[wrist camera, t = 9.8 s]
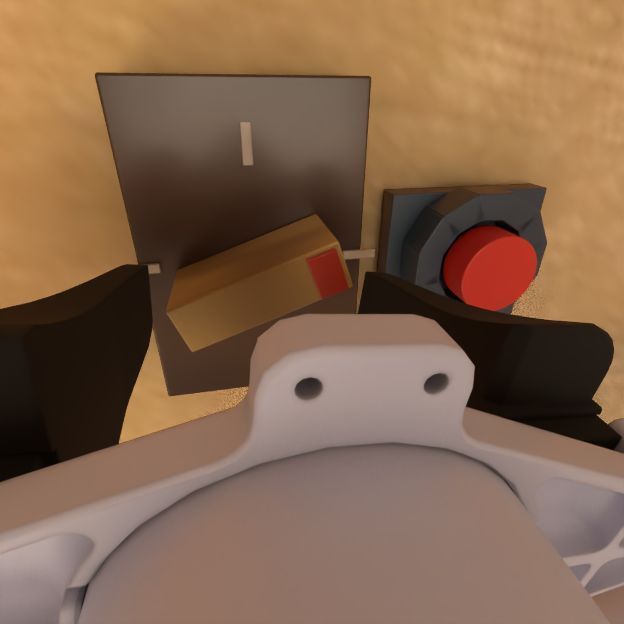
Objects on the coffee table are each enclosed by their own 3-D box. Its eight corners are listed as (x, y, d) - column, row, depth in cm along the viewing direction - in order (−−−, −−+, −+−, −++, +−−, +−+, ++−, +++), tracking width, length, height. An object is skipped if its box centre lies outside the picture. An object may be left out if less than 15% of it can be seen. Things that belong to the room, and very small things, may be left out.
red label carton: (197, 306, 16) (191, 357, 13) (175, 270, 15) (163, 315, 12) (329, 252, 16) (356, 290, 13) (316, 212, 15) (341, 242, 12)
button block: (491, 331, 24) (523, 359, 22) (370, 345, 23) (388, 376, 20) (532, 178, 20) (578, 190, 17) (384, 183, 18) (410, 197, 16)
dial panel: (347, 341, 22) (364, 374, 20) (163, 361, 21) (154, 401, 18) (362, 79, 16) (390, 75, 13) (99, 76, 14) (70, 71, 12)
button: (502, 292, 20) (525, 308, 18) (436, 298, 19) (454, 315, 17) (520, 222, 18) (548, 234, 16) (449, 227, 17) (470, 239, 16)
